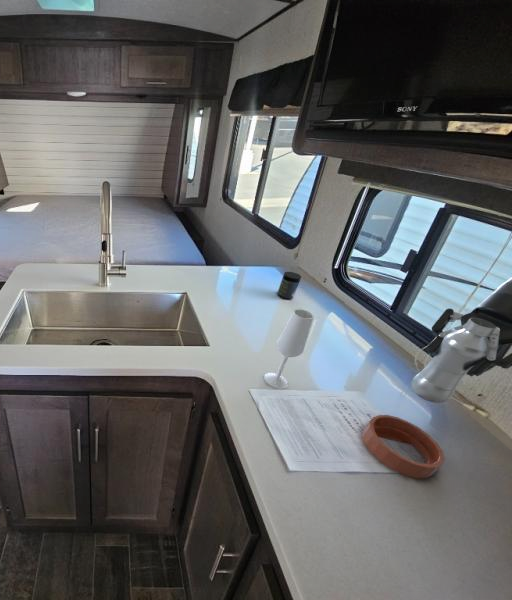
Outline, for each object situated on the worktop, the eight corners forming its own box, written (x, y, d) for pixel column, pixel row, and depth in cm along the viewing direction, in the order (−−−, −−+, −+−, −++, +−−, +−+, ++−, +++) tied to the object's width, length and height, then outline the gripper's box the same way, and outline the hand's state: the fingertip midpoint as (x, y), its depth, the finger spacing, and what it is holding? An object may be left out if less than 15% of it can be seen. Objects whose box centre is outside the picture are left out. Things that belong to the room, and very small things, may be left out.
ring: (412, 437, 80) (424, 423, 78) (443, 490, 69) (458, 475, 66) (352, 423, 84) (361, 408, 81) (371, 471, 72) (383, 456, 70)
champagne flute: (292, 389, 93) (323, 321, 81) (270, 388, 93) (297, 320, 81) (281, 372, 99) (309, 307, 87) (260, 372, 99) (284, 306, 86)
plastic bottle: (404, 380, 76) (454, 309, 65) (441, 392, 73) (500, 320, 62) (409, 398, 71) (464, 325, 60) (448, 412, 68) (513, 337, 57)
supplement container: (289, 301, 137) (298, 280, 132) (274, 295, 141) (281, 274, 136) (295, 296, 142) (303, 275, 136) (280, 291, 146) (287, 270, 140)
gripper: (564, 332, 60) (493, 393, 62) (468, 296, 72) (410, 349, 74) (574, 314, 56) (497, 381, 58) (470, 278, 67) (408, 335, 69)
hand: (448, 363), depth 66 cm, fingers closed on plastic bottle, 6 cm apart
